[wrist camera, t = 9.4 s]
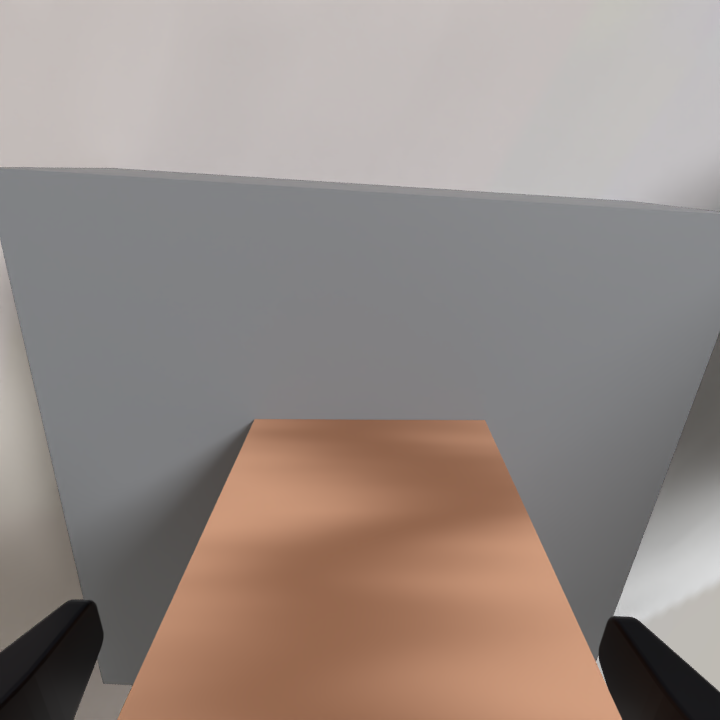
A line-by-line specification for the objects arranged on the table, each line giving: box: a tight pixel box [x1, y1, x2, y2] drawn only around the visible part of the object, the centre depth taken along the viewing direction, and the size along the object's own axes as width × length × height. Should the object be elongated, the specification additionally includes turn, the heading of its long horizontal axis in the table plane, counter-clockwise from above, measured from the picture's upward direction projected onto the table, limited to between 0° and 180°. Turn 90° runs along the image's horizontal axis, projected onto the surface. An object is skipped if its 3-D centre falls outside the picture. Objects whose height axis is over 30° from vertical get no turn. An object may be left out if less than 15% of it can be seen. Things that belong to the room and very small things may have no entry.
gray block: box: [0, 167, 720, 685], centre depth 13 cm, size 14×14×5 cm
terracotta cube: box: [117, 419, 622, 720], centre depth 8 cm, size 5×5×6 cm
